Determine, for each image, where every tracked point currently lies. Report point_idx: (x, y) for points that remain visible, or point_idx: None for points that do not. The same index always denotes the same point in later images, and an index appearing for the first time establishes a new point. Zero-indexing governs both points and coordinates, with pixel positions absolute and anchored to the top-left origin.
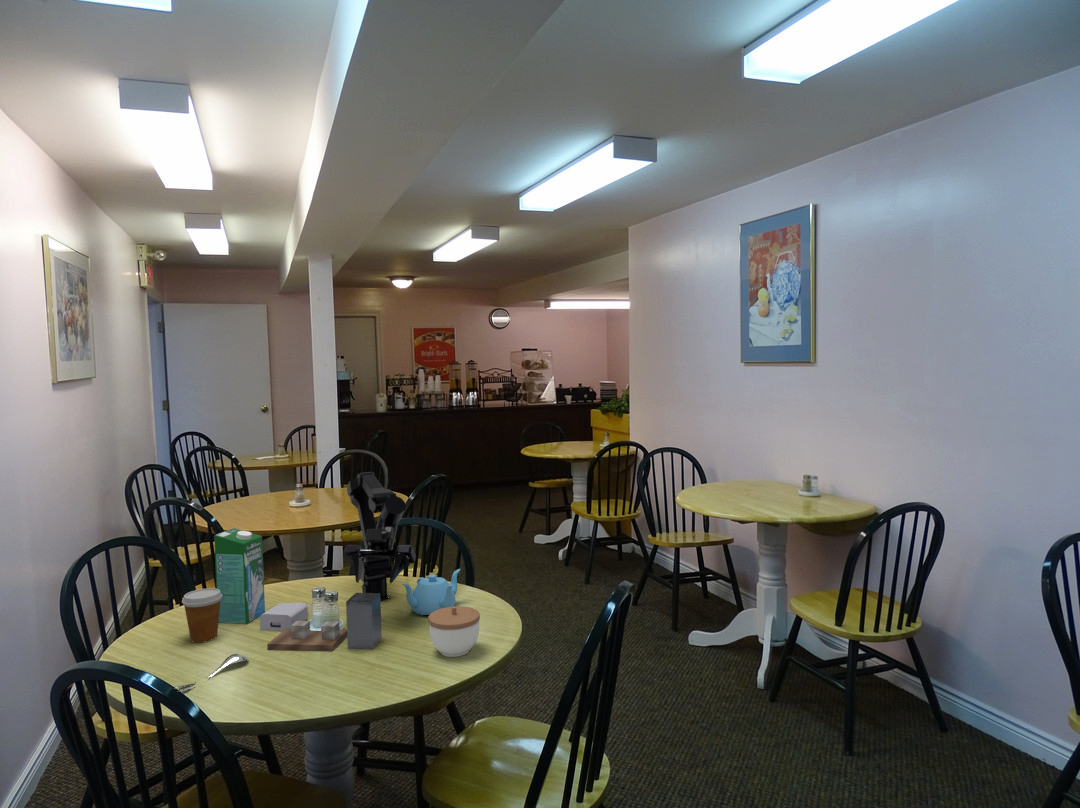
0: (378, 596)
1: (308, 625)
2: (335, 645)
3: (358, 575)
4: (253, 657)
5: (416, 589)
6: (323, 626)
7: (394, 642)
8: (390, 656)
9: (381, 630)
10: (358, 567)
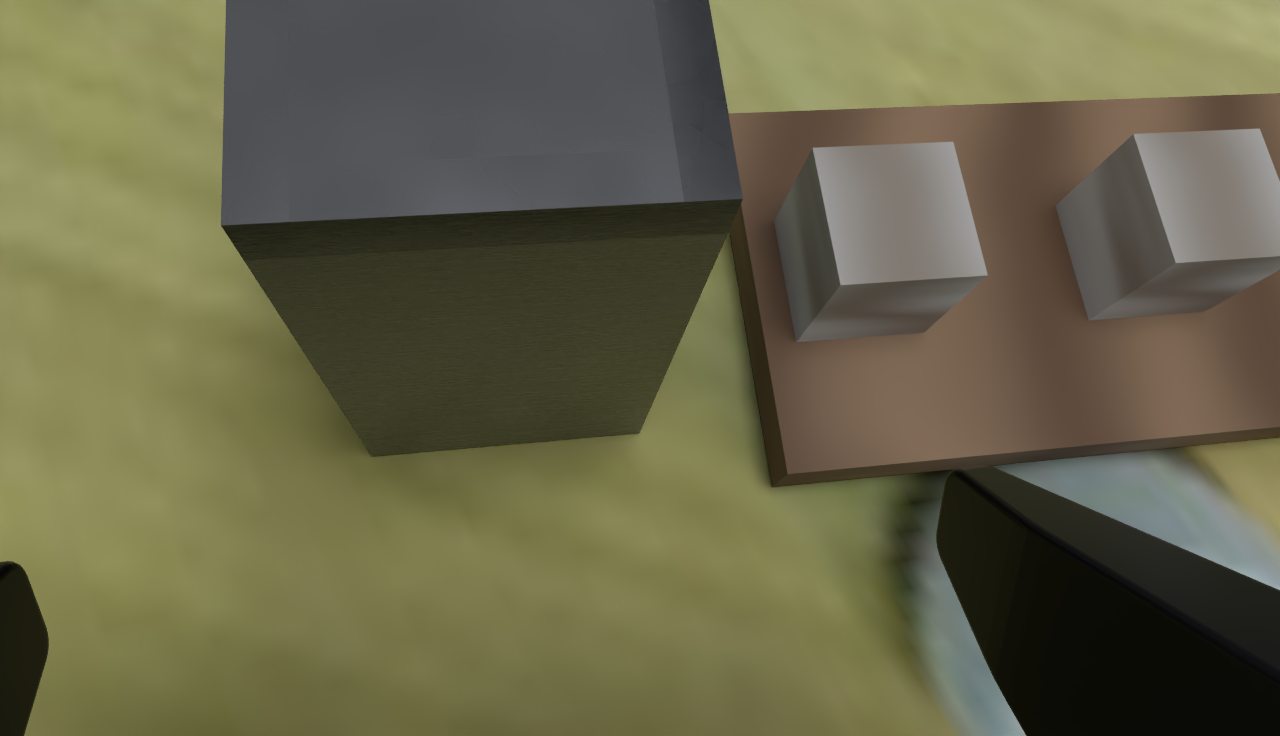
0: (230, 135)
1: (1141, 251)
2: None
3: (1035, 557)
4: (1231, 3)
5: None
6: (927, 143)
7: (197, 384)
8: (140, 94)
9: (356, 431)
10: (1262, 662)
